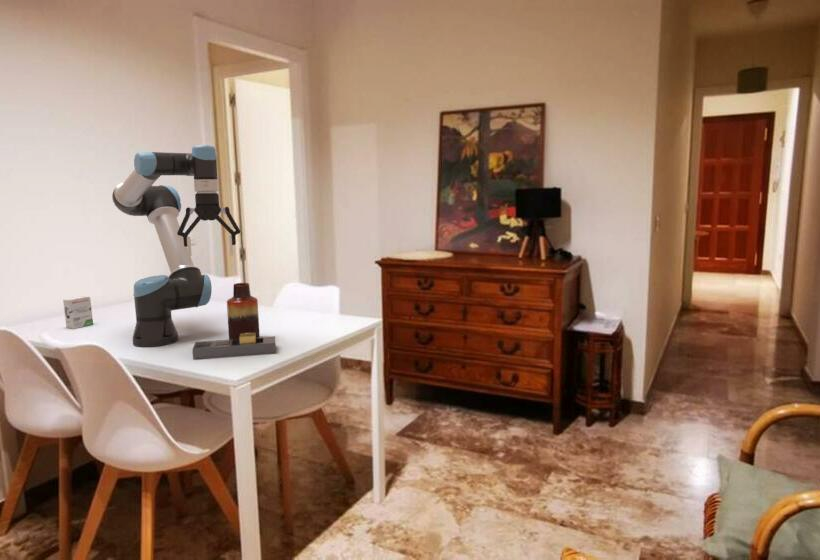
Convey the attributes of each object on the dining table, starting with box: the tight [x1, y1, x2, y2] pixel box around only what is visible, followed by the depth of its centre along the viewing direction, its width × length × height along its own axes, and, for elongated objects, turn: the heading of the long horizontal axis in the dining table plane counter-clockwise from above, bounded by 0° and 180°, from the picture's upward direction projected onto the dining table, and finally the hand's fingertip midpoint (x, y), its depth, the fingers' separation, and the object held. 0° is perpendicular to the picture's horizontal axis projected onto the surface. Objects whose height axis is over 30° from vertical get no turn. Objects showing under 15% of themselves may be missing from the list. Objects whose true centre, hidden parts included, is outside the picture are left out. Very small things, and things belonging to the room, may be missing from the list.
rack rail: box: [192, 335, 277, 360], centre depth 192 cm, size 26×9×4 cm, turn 104°
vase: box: [226, 282, 260, 340], centre depth 208 cm, size 11×11×20 cm
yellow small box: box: [239, 332, 256, 344], centre depth 192 cm, size 5×5×7 cm
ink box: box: [63, 296, 94, 330], centre depth 232 cm, size 9×5×12 cm, turn 148°
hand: (210, 255), depth 196 cm, fingers open, 13 cm apart
